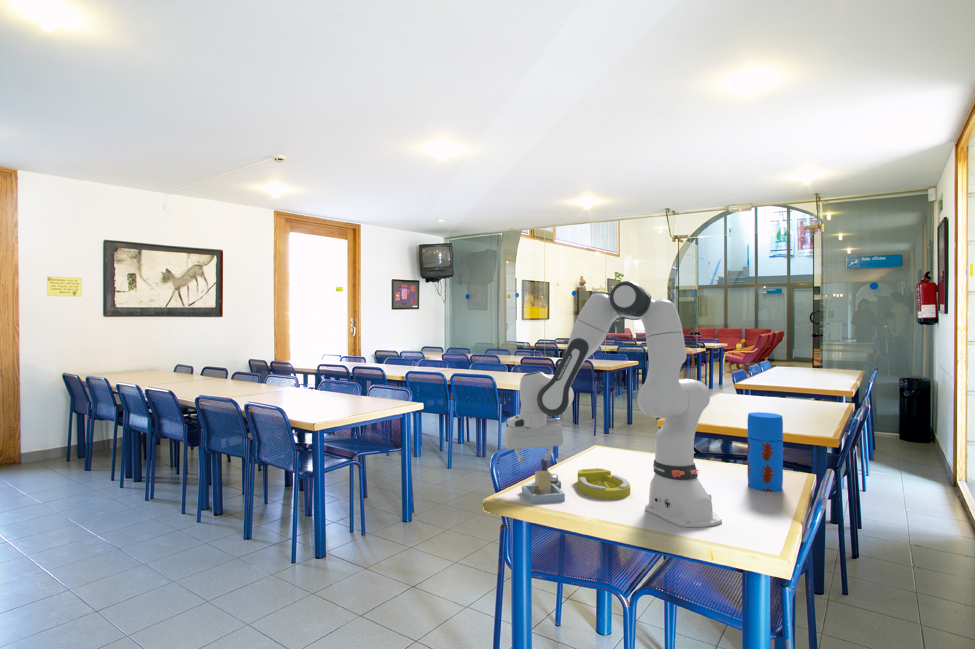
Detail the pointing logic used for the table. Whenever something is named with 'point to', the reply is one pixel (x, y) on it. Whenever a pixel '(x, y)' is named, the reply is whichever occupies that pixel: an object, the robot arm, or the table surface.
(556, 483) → the plinth
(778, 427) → the thermos
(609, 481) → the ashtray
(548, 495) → the tray
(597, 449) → the table surface
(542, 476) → the block
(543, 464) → the crank
